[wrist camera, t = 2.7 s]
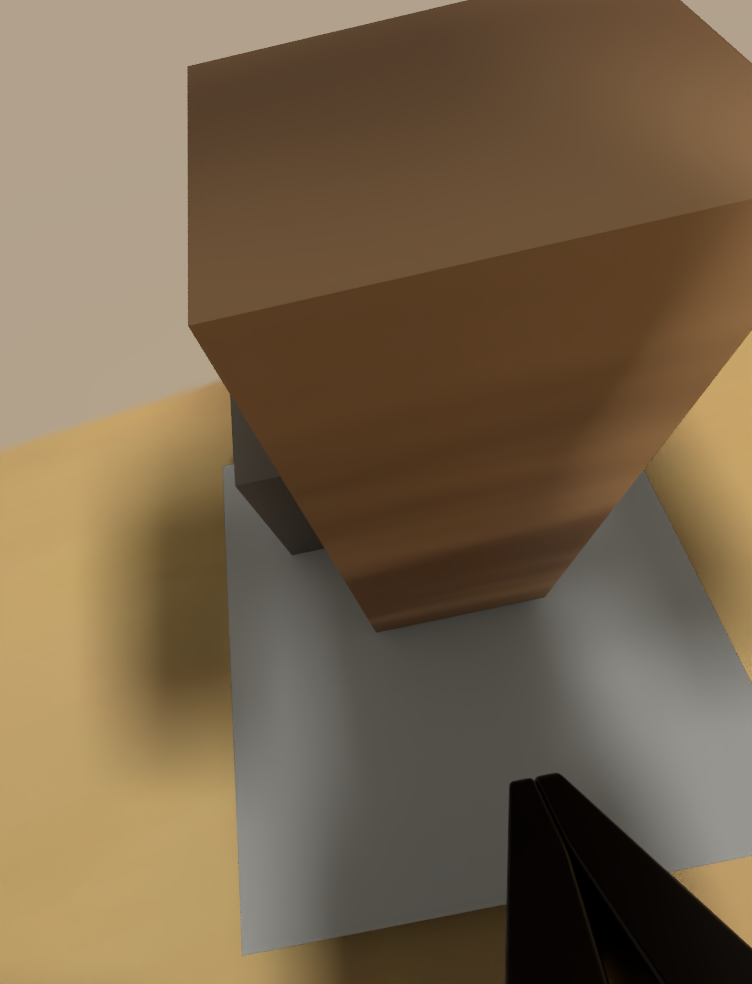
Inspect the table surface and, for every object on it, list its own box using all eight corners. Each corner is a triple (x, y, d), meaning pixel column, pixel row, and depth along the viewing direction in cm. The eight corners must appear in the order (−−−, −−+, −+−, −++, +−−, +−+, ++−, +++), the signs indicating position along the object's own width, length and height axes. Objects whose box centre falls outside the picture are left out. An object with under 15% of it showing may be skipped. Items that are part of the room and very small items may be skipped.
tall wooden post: (544, 597, 14) (873, 170, 3) (376, 632, 14) (187, 327, 4) (503, 478, 16) (635, -39, 5) (354, 510, 16) (187, 67, 5)
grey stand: (802, 832, 12) (1088, 909, 7) (256, 940, 12) (118, 1094, 7) (592, 400, 18) (655, 263, 13) (232, 478, 19) (150, 376, 13)
